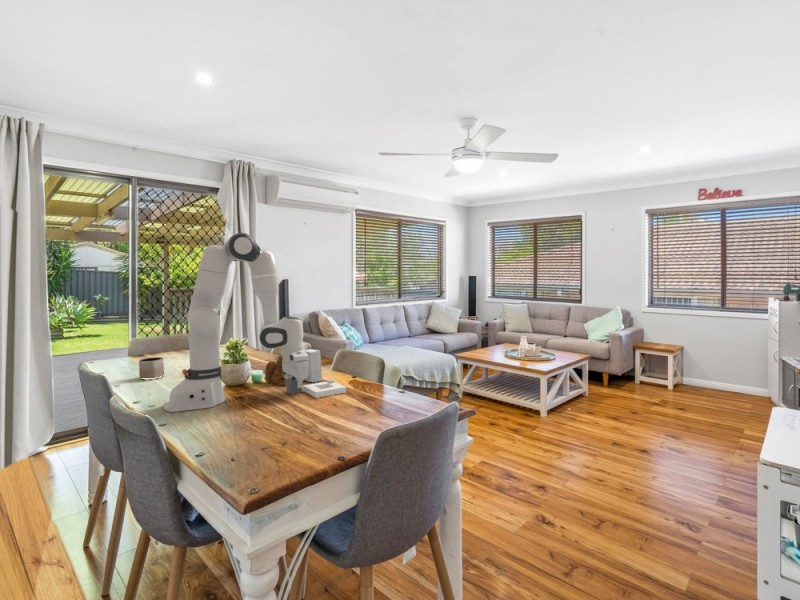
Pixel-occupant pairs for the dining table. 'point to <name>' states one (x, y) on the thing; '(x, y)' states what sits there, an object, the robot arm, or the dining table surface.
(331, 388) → the socket plate
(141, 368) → the planter
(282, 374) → the stuffed squirrel
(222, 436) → the dining table surface
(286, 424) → the dining table surface
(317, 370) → the skincare box
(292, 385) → the plug
